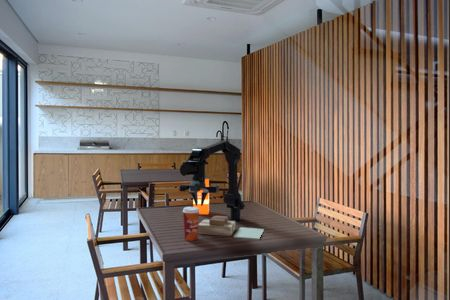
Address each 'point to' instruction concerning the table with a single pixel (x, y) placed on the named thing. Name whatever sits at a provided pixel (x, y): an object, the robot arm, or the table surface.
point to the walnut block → (218, 220)
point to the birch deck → (216, 228)
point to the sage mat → (249, 233)
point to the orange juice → (205, 207)
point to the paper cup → (191, 223)
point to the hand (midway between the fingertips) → (199, 205)
